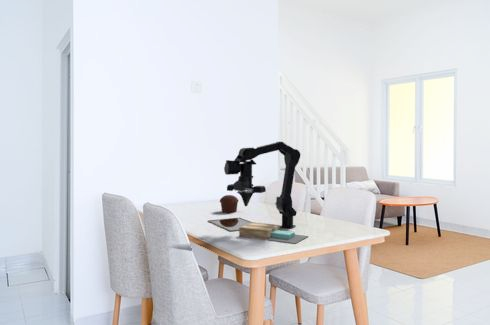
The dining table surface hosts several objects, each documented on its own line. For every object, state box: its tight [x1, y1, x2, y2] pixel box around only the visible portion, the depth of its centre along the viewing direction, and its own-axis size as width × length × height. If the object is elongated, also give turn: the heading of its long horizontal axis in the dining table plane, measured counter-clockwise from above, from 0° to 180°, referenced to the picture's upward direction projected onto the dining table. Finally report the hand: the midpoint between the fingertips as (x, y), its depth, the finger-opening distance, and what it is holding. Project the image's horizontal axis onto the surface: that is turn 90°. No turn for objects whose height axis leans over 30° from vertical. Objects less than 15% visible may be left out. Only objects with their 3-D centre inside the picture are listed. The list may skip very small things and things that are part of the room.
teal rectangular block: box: [271, 229, 296, 239], centre depth 191 cm, size 6×9×2 cm, turn 60°
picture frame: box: [207, 217, 253, 233], centre depth 220 cm, size 19×1×28 cm
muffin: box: [219, 194, 239, 214], centre depth 258 cm, size 12×11×10 cm
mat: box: [266, 234, 309, 245], centre depth 189 cm, size 15×13×1 cm
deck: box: [238, 221, 281, 241], centre depth 196 cm, size 14×14×4 cm
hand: (246, 206), depth 204 cm, fingers closed
